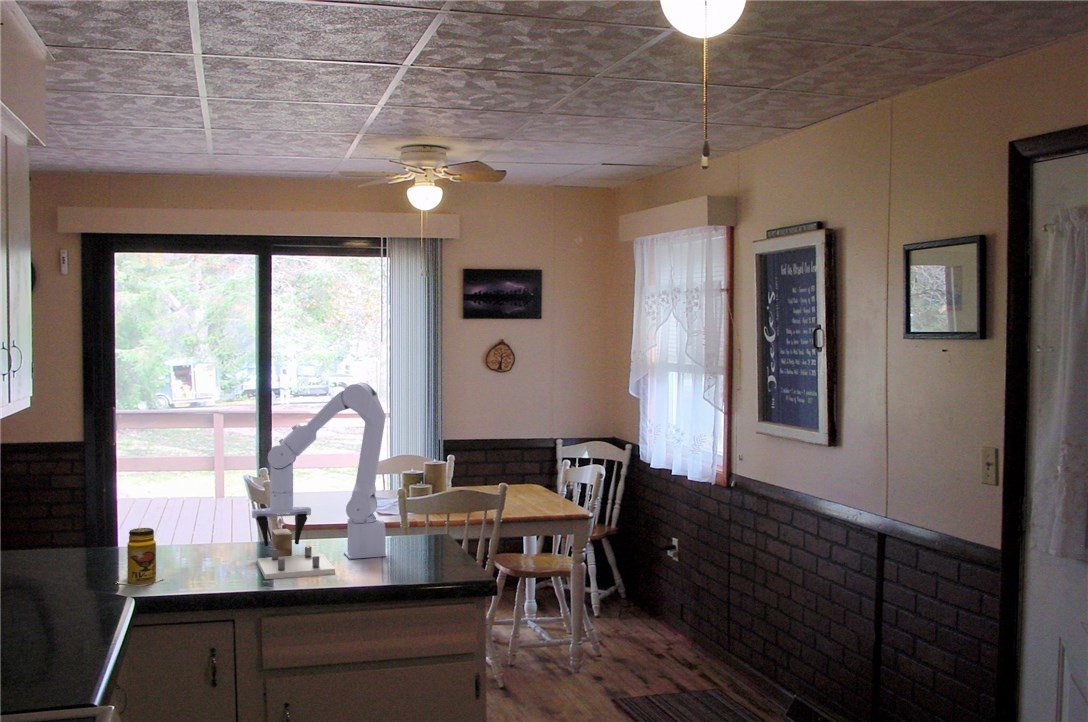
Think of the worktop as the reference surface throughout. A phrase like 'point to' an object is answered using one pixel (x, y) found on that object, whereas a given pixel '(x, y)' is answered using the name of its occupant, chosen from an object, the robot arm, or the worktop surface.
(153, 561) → the condiment
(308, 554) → the plate
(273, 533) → the walnut block
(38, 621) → the worktop surface
